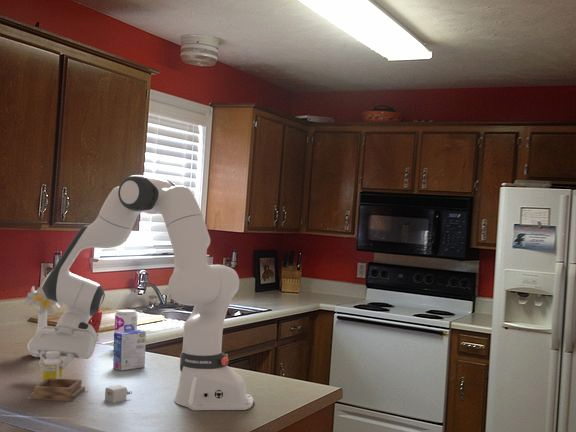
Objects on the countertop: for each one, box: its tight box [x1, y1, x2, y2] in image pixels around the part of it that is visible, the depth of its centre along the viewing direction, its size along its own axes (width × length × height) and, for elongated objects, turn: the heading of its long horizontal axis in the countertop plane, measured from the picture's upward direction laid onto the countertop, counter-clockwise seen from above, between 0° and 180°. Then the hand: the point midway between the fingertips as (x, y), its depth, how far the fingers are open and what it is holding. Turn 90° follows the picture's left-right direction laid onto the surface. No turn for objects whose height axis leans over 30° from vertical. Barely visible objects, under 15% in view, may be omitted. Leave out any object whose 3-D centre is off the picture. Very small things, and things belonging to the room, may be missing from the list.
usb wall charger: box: [104, 384, 133, 404], centre depth 194 cm, size 4×7×4 cm, turn 140°
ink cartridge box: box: [112, 324, 147, 372], centre depth 233 cm, size 10×6×14 cm, turn 137°
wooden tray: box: [29, 378, 86, 401], centre depth 195 cm, size 12×10×3 cm
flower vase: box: [23, 283, 63, 358], centre depth 244 cm, size 13×18×25 cm
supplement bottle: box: [42, 351, 63, 381], centre depth 207 cm, size 5×5×10 cm
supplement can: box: [113, 308, 138, 334], centre depth 261 cm, size 8×8×15 cm
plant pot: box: [88, 309, 103, 337], centre depth 278 cm, size 13×13×12 cm
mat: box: [26, 390, 89, 402], centre depth 195 cm, size 14×11×1 cm
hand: (51, 366), depth 207 cm, fingers closed on supplement bottle, 5 cm apart
